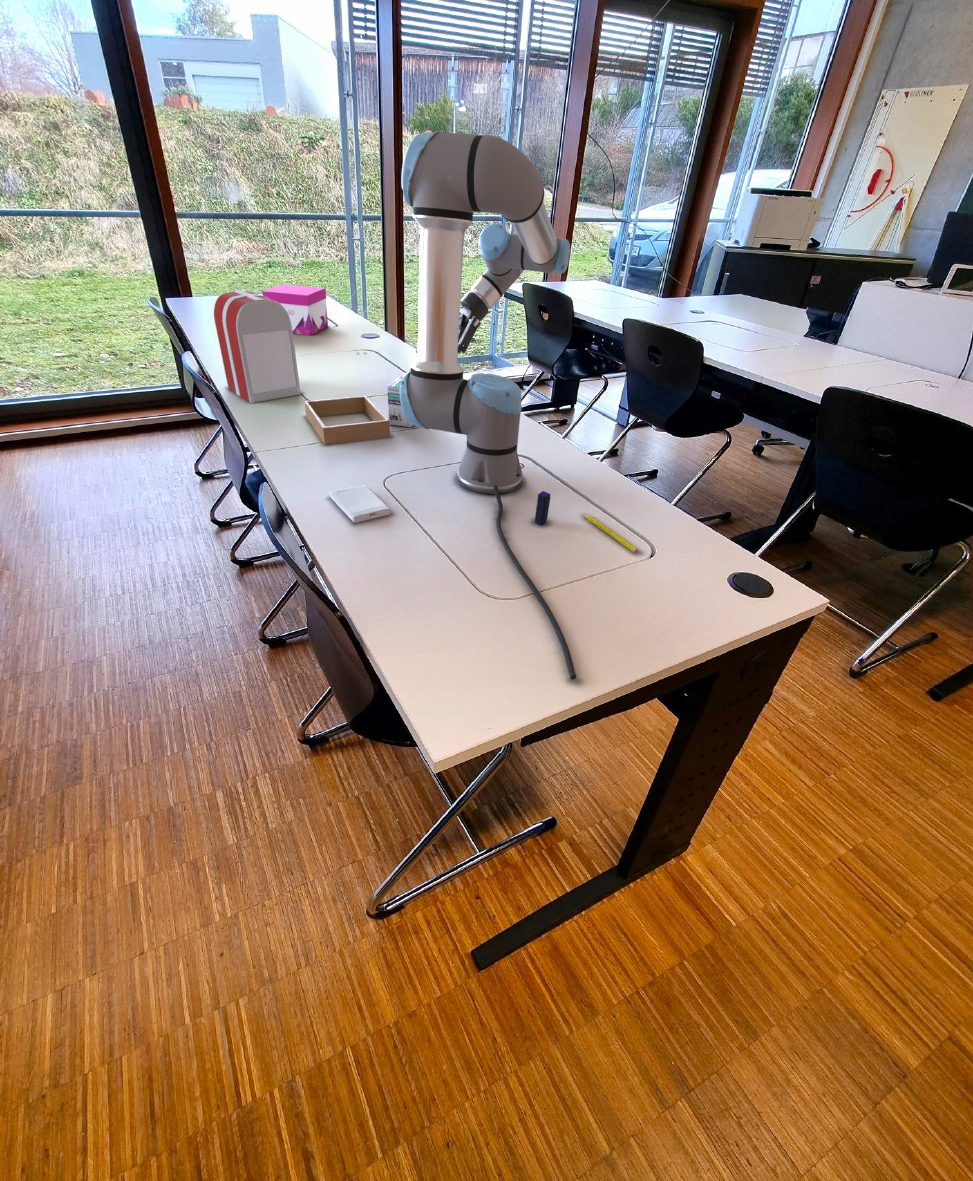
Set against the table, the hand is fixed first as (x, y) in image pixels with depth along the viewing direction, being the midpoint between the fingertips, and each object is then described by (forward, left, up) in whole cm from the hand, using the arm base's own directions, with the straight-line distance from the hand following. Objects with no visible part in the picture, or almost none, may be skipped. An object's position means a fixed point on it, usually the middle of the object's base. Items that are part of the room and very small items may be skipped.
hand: (428, 361), depth 161 cm
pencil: (-75, -10, -16) cm, 77 cm away
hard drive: (-46, +34, -16) cm, 59 cm away
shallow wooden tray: (0, +24, -16) cm, 29 cm away
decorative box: (+118, +12, -16) cm, 120 cm away
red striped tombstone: (+38, +40, -16) cm, 57 cm away
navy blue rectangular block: (-66, +1, -16) cm, 68 cm away
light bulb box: (0, +7, -16) cm, 17 cm away
